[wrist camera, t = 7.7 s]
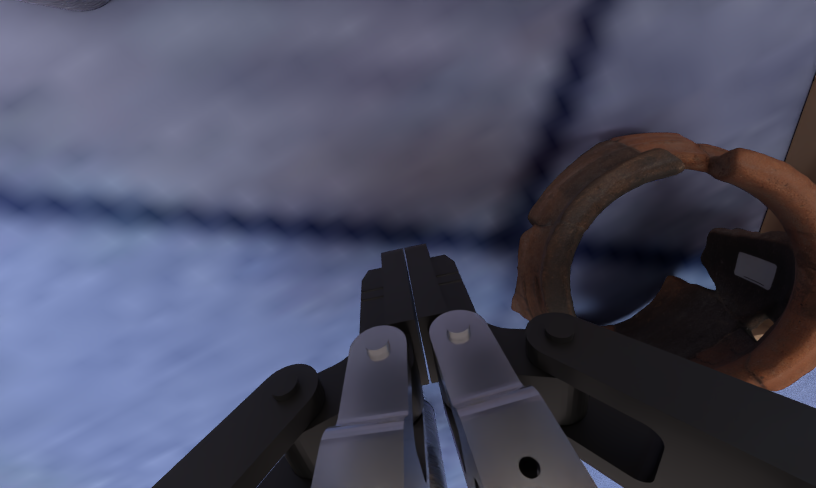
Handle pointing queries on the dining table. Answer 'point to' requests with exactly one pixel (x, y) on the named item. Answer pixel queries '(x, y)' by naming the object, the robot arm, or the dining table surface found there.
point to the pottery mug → (723, 258)
